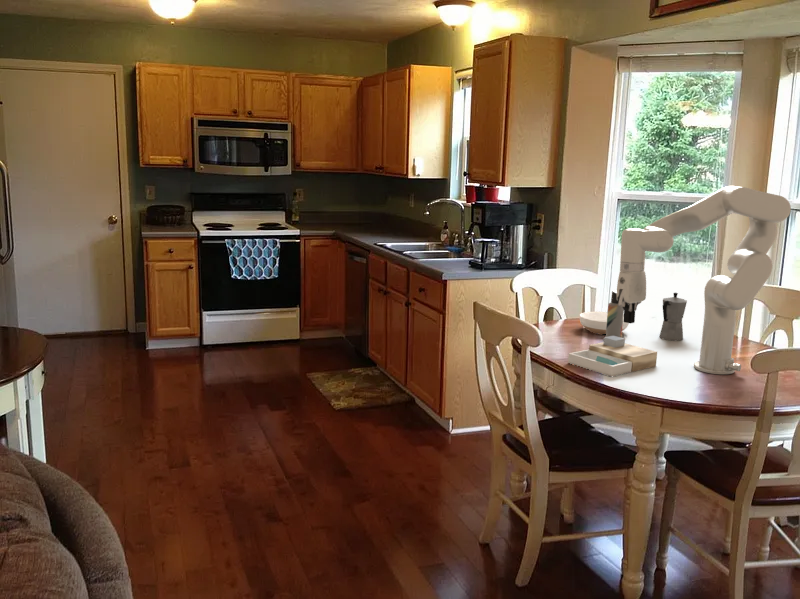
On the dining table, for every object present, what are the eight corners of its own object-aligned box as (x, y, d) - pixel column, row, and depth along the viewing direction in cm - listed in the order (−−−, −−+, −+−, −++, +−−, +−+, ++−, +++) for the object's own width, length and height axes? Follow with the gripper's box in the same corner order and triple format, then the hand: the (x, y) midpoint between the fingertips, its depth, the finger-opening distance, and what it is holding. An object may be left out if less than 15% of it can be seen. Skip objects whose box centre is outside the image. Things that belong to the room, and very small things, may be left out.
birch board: (655, 366, 247) (657, 351, 246) (632, 371, 240) (633, 357, 239) (612, 353, 261) (613, 340, 260) (588, 359, 254) (589, 345, 253)
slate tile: (624, 345, 253) (625, 338, 253) (615, 347, 250) (615, 340, 250) (612, 342, 257) (613, 335, 257) (603, 344, 254) (603, 337, 254)
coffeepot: (667, 332, 296) (672, 289, 292) (690, 337, 289) (695, 292, 285) (648, 338, 285) (653, 293, 282) (672, 343, 278) (676, 297, 275)
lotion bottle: (619, 341, 280) (623, 289, 276) (622, 345, 274) (626, 292, 270) (604, 340, 280) (608, 289, 276) (606, 344, 275) (611, 291, 271)
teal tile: (609, 359, 236) (607, 366, 236) (618, 363, 239) (615, 370, 239) (597, 355, 240) (594, 363, 239) (605, 359, 243) (603, 366, 243)
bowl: (600, 339, 283) (601, 323, 281) (568, 328, 300) (569, 313, 299) (639, 335, 291) (640, 320, 290) (605, 324, 308) (607, 310, 307)
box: (631, 372, 239) (632, 361, 239) (611, 377, 234) (612, 366, 233) (587, 359, 254) (588, 349, 253) (567, 363, 248) (568, 353, 247)
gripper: (627, 270, 230) (624, 327, 234) (656, 266, 239) (652, 321, 242) (607, 267, 236) (605, 323, 240) (636, 263, 245) (633, 317, 248)
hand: (628, 322), depth 241 cm, fingers closed
